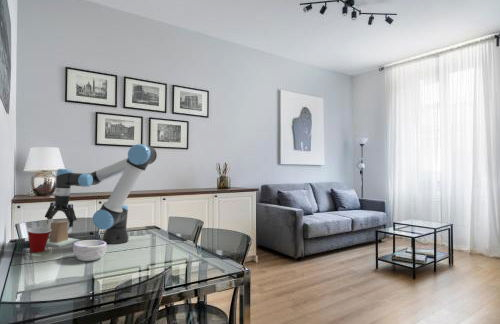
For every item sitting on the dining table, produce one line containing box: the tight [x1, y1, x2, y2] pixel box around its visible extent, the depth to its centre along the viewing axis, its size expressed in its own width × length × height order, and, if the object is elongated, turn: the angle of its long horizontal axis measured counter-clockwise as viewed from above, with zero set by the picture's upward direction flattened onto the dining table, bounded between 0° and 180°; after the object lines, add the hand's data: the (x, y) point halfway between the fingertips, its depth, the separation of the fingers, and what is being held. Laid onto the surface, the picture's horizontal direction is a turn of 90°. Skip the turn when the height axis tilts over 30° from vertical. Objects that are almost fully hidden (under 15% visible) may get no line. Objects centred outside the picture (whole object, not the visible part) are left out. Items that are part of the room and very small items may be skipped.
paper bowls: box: [72, 239, 108, 262], centre depth 157 cm, size 15×15×8 cm
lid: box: [46, 219, 80, 247], centre depth 181 cm, size 15×15×12 cm
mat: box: [45, 239, 84, 249], centre depth 180 cm, size 20×20×1 cm
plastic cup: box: [26, 226, 52, 253], centre depth 162 cm, size 11×11×12 cm
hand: (59, 231), depth 181 cm, fingers open, 13 cm apart
